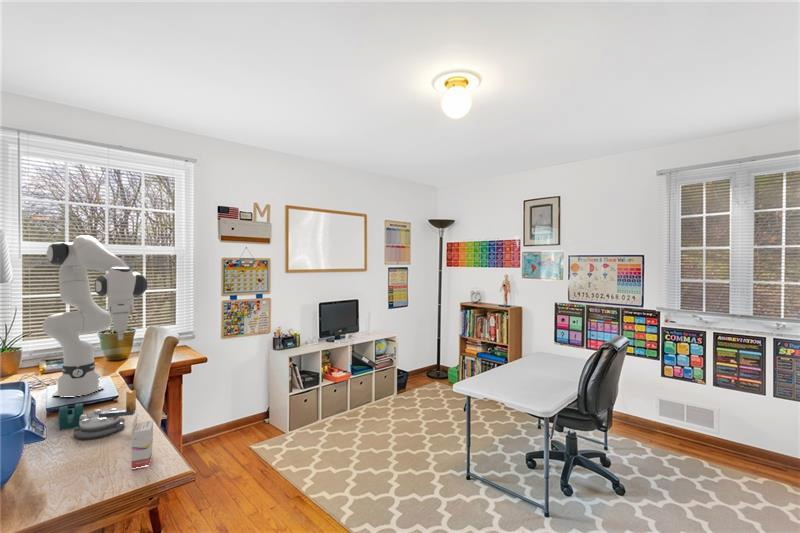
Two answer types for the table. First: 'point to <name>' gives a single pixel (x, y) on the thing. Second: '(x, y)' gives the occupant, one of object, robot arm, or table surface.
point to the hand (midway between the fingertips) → (120, 339)
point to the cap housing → (99, 432)
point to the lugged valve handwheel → (107, 416)
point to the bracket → (70, 416)
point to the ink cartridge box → (141, 443)
